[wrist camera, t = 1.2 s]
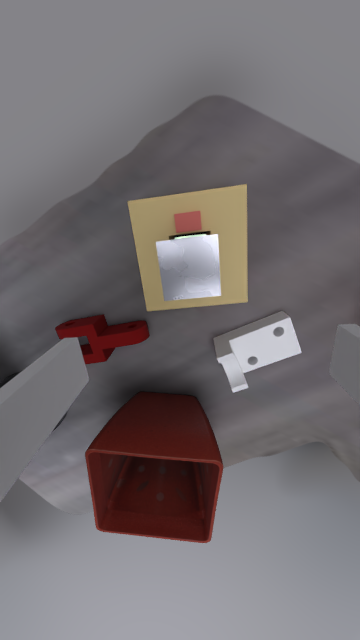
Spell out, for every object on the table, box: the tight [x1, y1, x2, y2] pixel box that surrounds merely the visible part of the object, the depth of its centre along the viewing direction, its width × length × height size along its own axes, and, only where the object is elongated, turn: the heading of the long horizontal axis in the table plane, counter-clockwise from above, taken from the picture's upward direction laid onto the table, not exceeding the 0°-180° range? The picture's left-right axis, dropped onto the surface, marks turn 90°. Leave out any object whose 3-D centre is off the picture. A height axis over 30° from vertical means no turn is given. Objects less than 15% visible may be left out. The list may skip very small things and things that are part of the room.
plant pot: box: [85, 392, 223, 543], centre depth 41 cm, size 19×19×17 cm
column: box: [156, 234, 221, 301], centre depth 26 cm, size 5×5×21 cm
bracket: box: [213, 311, 302, 393], centre depth 37 cm, size 13×7×8 cm, turn 116°
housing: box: [127, 184, 248, 311], centre depth 31 cm, size 14×14×10 cm
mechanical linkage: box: [55, 315, 149, 364], centre depth 40 cm, size 16×7×5 cm, turn 102°
